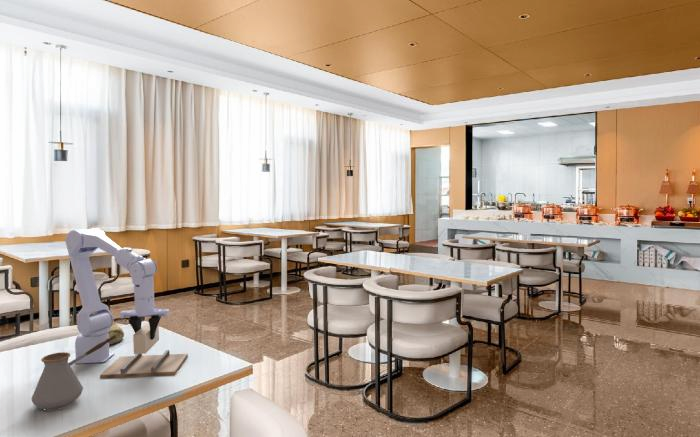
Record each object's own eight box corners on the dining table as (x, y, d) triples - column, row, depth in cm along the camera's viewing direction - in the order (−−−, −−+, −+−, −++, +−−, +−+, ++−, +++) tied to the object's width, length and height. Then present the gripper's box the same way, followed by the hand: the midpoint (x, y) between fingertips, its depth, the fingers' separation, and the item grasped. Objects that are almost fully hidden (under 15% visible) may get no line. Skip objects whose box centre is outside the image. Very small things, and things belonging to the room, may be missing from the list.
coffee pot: (38, 419, 111) (34, 360, 110) (27, 404, 119) (24, 349, 118) (127, 390, 126) (125, 338, 125) (113, 379, 134) (111, 330, 133)
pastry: (95, 336, 174) (94, 316, 174) (129, 335, 176) (128, 315, 175) (79, 349, 160) (78, 327, 160) (115, 347, 162) (115, 325, 161)
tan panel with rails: (100, 378, 135) (99, 370, 135) (120, 359, 150) (120, 352, 150) (175, 374, 137) (174, 366, 137) (187, 356, 152) (187, 349, 152)
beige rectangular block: (133, 354, 138) (133, 335, 137) (148, 340, 151) (147, 322, 150) (145, 353, 138) (144, 334, 138) (159, 339, 151) (158, 322, 151)
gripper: (171, 293, 147) (172, 333, 148) (125, 295, 146) (127, 335, 147) (165, 298, 140) (166, 341, 141) (116, 300, 139) (118, 343, 140)
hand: (146, 338), depth 143 cm, fingers closed on beige rectangular block, 3 cm apart
